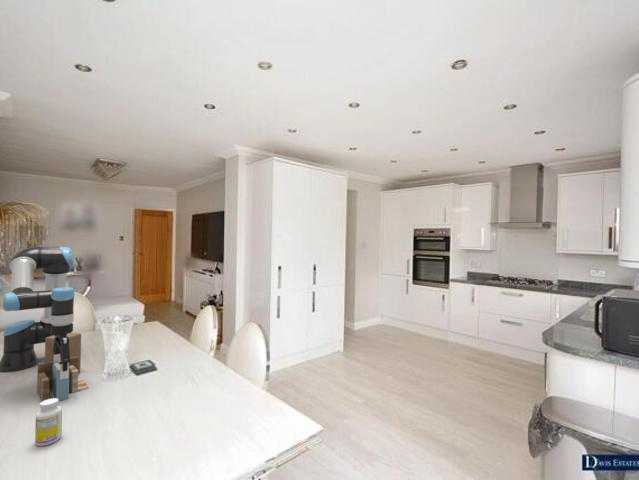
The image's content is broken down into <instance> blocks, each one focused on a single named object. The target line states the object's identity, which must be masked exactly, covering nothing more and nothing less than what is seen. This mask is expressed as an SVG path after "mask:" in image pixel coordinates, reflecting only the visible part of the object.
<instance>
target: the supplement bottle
mask: <svg viewBox="0 0 639 480" xmlns="http://www.w3.org/2000/svg"><path fill="white" fill-rule="evenodd" d="M59 402H60V401H58V399H57V398H54V397H52V398H49V399H48V400H45V401H43V402H42V401H40V403H39V410H38V411H37V412H36V414H35V427H34V429H35V430H34V431H35V434H34V436H35V438H34V442H35V445H36V446H39V447H43V446H44V447H46V446H47V445H51V444H54V443H55V442H58V441H59V439H61V438H62V434H63V433H62V431H63V430H62V429H63V428H62V427H63V425H62V424H63V408H62V406H61V405H59Z"/></svg>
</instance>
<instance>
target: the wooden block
mask: <svg viewBox="0 0 639 480" xmlns="http://www.w3.org/2000/svg"><path fill="white" fill-rule="evenodd" d="M67 337H68V338H69V351H70V358H72V357H76V356H78V375H79V374H80V373H81V366H82V365H81V363H82V362H81V359H82V357H81V356H82V333H80V332H71V333H68V334H67ZM54 340H55V335H53V336H50V337H46V338H45V343H44V351H45V352H44V363H48V362H52V361H54V355H55V354H54V352H53V347H54Z"/></svg>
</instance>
